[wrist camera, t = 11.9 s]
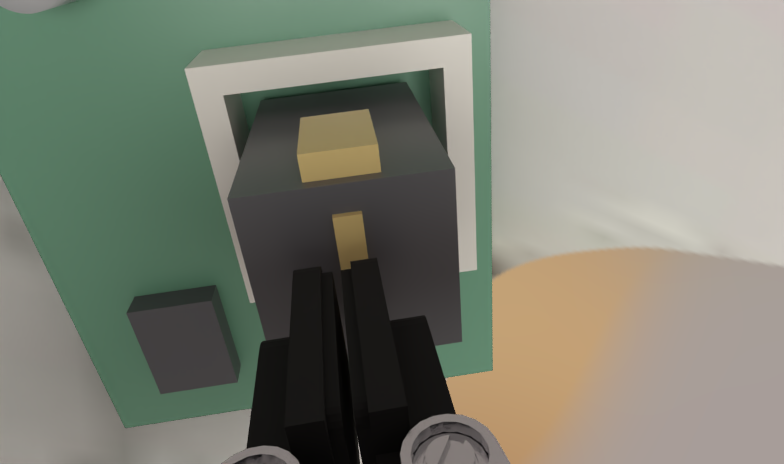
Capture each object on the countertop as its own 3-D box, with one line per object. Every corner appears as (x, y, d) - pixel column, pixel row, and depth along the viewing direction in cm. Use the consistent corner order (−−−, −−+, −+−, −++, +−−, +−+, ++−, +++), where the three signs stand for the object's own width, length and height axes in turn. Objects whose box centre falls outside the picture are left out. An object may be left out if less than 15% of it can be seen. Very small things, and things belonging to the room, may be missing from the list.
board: (485, 352, 25) (509, 414, 22) (133, 406, 24) (105, 479, 21) (475, -283, 14) (520, -344, 11) (-162, -224, 13) (-313, -272, 10)
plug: (416, 210, 19) (463, 345, 13) (288, 228, 19) (273, 375, 13) (404, 62, 17) (455, 142, 10) (256, 80, 16) (217, 173, 10)
